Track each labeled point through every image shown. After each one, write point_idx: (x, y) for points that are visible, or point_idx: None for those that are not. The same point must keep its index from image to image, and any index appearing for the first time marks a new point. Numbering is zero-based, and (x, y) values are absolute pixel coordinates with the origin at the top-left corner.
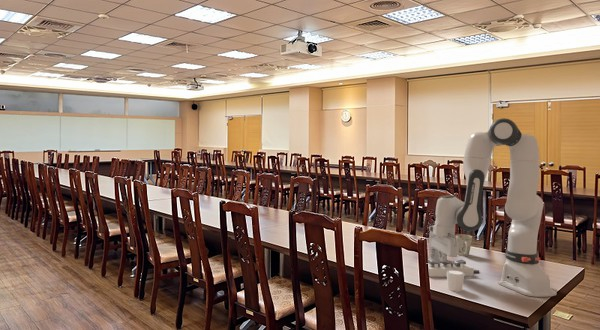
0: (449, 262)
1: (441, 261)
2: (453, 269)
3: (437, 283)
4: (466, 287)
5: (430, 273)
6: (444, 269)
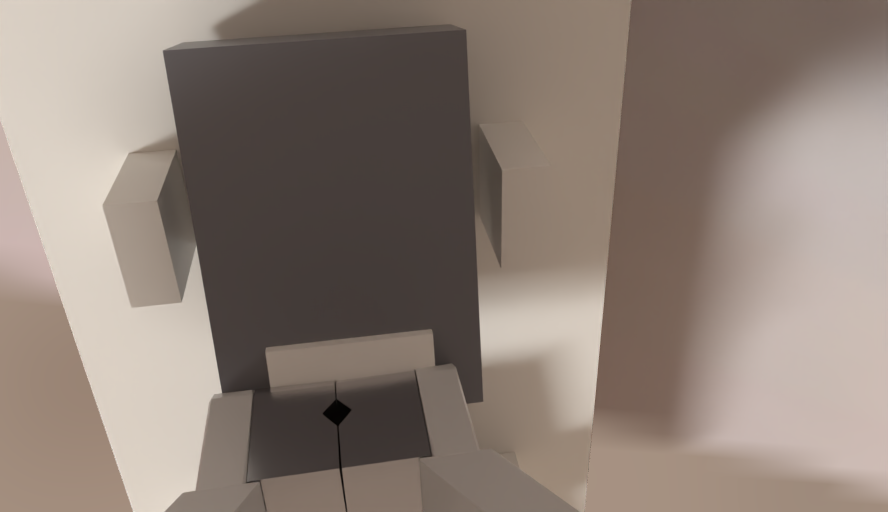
0: (373, 156)
1: None
2: (613, 63)
3: (860, 446)
4: None
5: None
6: (593, 317)
